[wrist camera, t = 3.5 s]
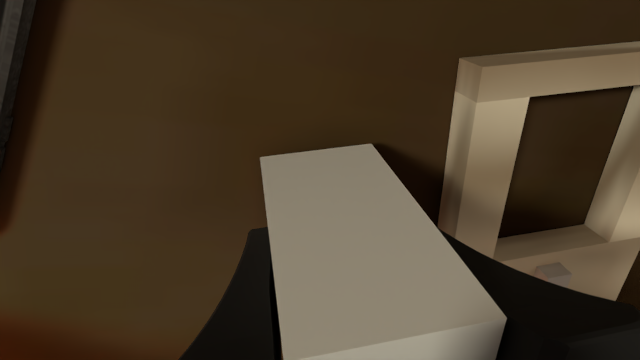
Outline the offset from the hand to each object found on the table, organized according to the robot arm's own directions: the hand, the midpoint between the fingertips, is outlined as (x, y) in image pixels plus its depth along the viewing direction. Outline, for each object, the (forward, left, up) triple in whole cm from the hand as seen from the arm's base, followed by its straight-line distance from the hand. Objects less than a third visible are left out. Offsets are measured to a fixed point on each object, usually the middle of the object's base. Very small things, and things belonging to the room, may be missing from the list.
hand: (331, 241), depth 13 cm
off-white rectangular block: (0, 0, -2) cm, 2 cm away
